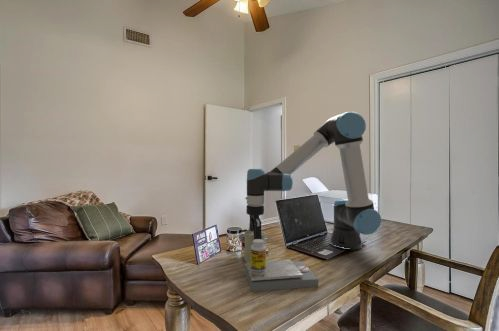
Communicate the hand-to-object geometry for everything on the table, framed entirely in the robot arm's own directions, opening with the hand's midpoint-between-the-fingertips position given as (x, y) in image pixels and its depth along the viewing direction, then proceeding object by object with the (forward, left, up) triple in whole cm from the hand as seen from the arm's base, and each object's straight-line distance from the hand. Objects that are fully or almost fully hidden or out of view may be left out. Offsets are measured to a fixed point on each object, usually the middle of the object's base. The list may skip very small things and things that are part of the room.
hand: (254, 256), depth 108 cm
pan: (-3, +18, +2) cm, 19 cm away
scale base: (-6, +19, -1) cm, 19 cm away
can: (0, 0, -1) cm, 1 cm away
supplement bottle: (+2, +18, +3) cm, 19 cm away
